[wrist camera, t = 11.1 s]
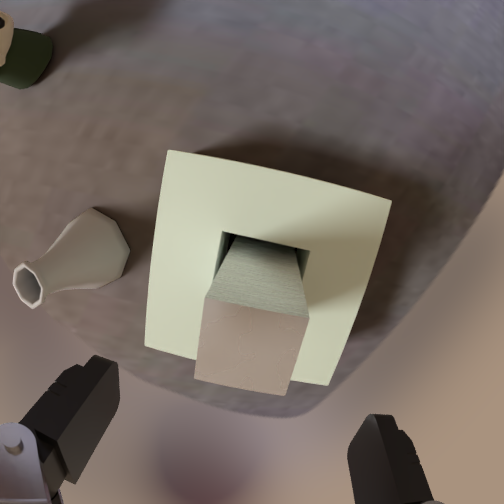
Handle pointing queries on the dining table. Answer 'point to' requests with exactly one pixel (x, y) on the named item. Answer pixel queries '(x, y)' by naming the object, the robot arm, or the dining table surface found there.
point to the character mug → (21, 54)
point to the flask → (75, 260)
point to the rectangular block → (253, 318)
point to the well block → (264, 228)
